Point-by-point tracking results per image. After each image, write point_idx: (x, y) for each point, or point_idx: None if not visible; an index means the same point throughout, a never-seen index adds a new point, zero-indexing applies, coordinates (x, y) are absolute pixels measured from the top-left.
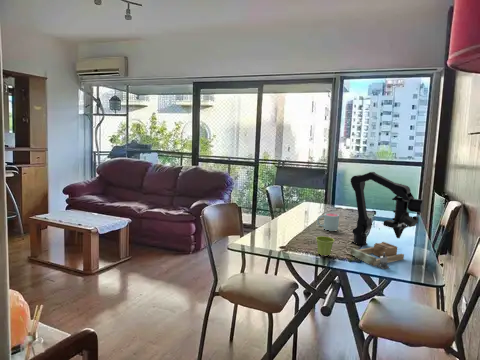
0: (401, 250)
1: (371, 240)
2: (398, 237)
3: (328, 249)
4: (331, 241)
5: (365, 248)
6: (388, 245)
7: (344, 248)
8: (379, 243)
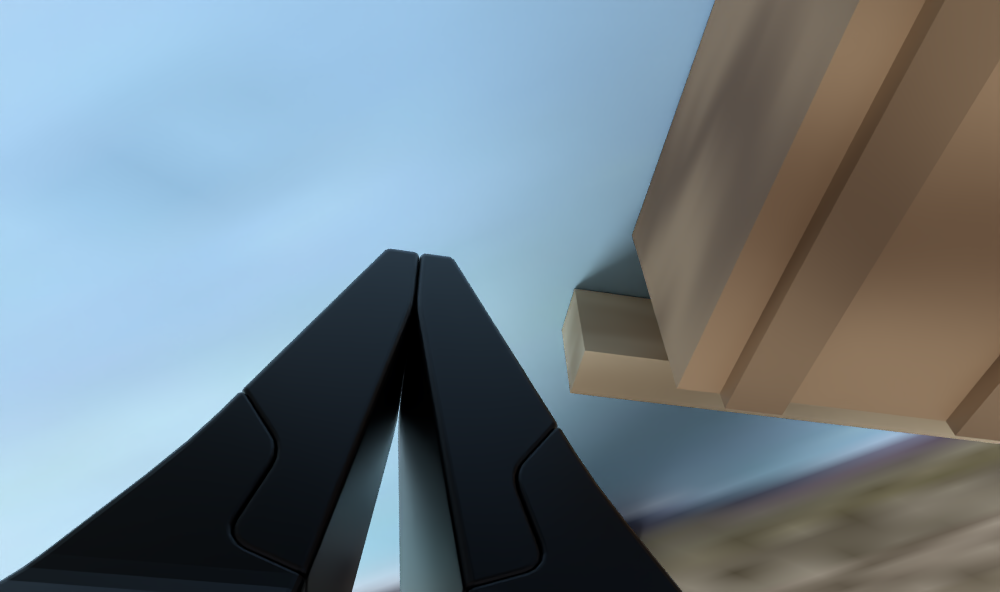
0: (130, 85)
1: None
2: (464, 279)
3: None
4: None
5: (964, 437)
6: (914, 214)
7: (897, 569)
8: (878, 403)
